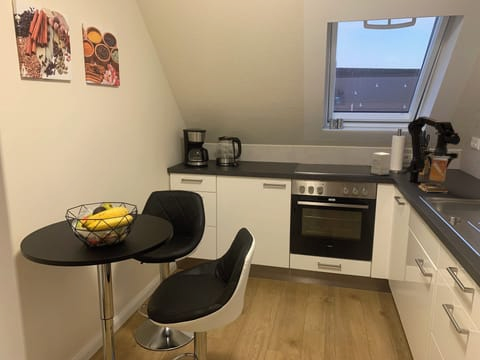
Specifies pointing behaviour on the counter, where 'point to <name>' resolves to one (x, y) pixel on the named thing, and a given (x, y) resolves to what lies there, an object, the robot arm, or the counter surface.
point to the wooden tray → (432, 187)
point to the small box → (438, 169)
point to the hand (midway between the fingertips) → (438, 168)
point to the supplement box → (380, 163)
